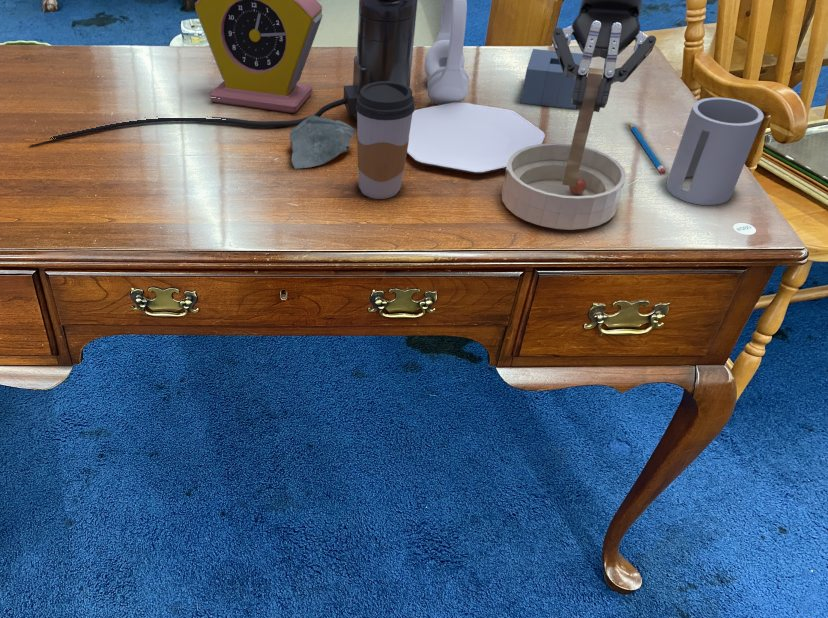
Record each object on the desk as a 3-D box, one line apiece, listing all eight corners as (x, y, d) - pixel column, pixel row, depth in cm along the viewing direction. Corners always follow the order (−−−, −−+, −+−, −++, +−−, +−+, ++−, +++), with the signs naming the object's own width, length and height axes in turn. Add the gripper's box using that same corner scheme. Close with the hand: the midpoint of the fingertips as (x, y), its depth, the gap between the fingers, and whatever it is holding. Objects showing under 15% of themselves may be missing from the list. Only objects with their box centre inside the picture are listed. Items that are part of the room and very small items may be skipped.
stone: (357, 172, 129) (355, 128, 133) (356, 154, 125) (354, 109, 130) (291, 178, 130) (291, 134, 134) (288, 160, 126) (288, 115, 131)
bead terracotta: (570, 198, 118) (574, 183, 116) (565, 190, 120) (568, 175, 118) (586, 196, 118) (590, 182, 117) (580, 188, 120) (584, 174, 118)
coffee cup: (406, 176, 125) (415, 79, 115) (407, 203, 119) (417, 104, 109) (353, 175, 126) (357, 79, 115) (351, 202, 120) (355, 103, 109)
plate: (552, 124, 137) (554, 116, 136) (522, 189, 121) (524, 180, 120) (418, 103, 144) (419, 95, 143) (374, 162, 129) (375, 153, 128)
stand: (520, 102, 143) (526, 68, 139) (526, 81, 150) (533, 48, 146) (576, 109, 141) (584, 74, 137) (580, 87, 147) (588, 54, 143)
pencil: (659, 174, 124) (661, 170, 123) (627, 125, 136) (628, 121, 136) (665, 174, 124) (666, 170, 123) (631, 125, 136) (632, 121, 136)
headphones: (426, 117, 140) (439, -7, 126) (421, 75, 153) (432, -42, 139) (467, 117, 140) (486, -7, 126) (459, 75, 153) (474, -42, 139)
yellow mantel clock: (196, 100, 147) (184, -29, 132) (217, 81, 153) (207, -44, 138) (309, 116, 141) (310, -17, 126) (326, 95, 148) (328, -34, 132)
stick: (562, 184, 116) (588, 72, 104) (563, 179, 117) (589, 67, 106) (575, 186, 115) (602, 74, 104) (576, 180, 116) (603, 68, 105)
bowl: (521, 237, 112) (528, 202, 108) (487, 181, 124) (493, 147, 120) (633, 228, 113) (645, 193, 109) (590, 173, 124) (599, 139, 121)
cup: (732, 181, 122) (764, 103, 113) (729, 209, 116) (762, 130, 107) (669, 170, 125) (695, 93, 116) (662, 197, 119) (689, 119, 110)
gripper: (565, -41, 104) (535, 91, 104) (678, -34, 100) (648, 102, 101) (560, -10, 111) (533, 114, 112) (666, -2, 108) (637, 125, 108)
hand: (587, 108), depth 106 cm, fingers closed on stick, 2 cm apart
